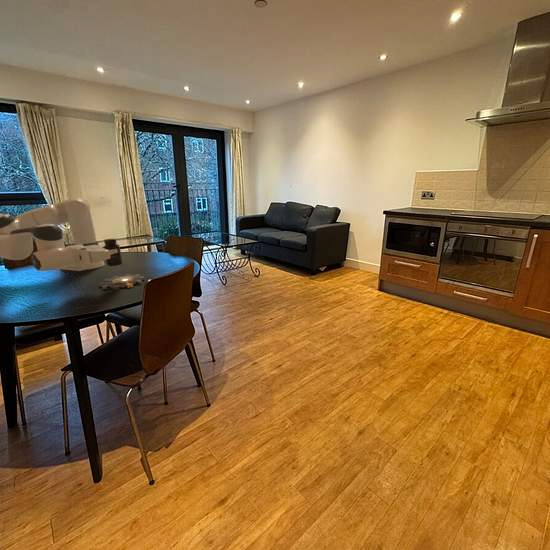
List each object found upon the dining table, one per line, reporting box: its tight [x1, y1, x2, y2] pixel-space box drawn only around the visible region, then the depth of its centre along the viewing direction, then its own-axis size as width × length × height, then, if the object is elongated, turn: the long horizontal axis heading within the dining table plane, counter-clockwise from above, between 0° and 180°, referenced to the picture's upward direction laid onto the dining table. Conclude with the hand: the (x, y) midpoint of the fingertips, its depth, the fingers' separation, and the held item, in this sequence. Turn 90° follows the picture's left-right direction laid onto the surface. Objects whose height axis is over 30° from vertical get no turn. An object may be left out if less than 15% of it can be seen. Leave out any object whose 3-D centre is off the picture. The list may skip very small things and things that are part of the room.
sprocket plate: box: [99, 273, 145, 291], centre depth 143 cm, size 19×19×2 cm
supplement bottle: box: [102, 238, 123, 267], centre depth 137 cm, size 7×7×12 cm
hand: (114, 249), depth 138 cm, fingers closed on supplement bottle, 7 cm apart
